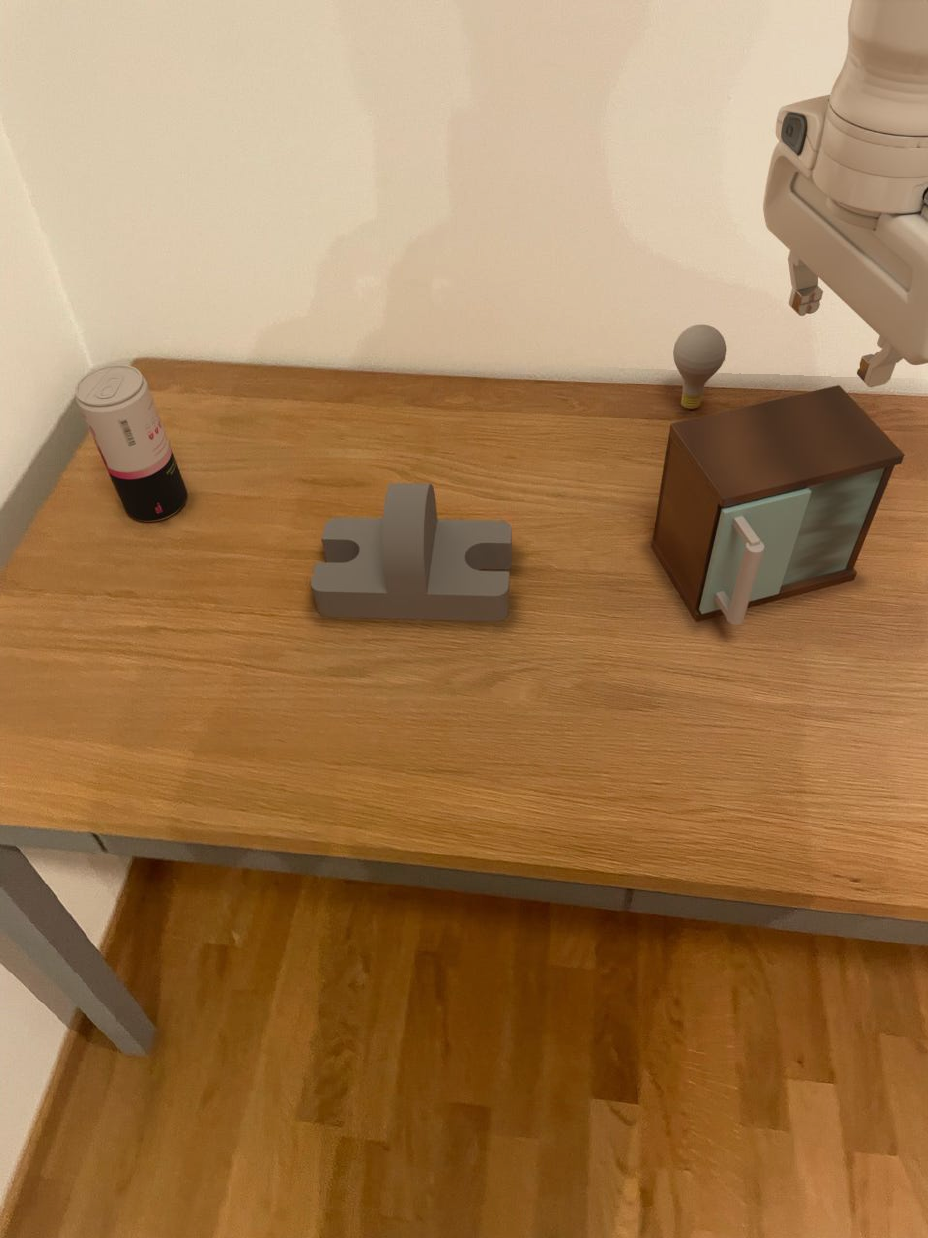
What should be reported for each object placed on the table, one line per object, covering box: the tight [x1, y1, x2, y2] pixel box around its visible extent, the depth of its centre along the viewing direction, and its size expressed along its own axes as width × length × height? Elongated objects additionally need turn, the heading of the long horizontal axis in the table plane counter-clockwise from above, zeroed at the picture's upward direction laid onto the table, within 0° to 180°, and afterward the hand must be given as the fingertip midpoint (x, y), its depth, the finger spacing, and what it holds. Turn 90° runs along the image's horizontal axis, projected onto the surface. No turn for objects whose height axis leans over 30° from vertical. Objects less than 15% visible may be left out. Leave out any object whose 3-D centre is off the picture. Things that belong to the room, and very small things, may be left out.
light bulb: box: [672, 324, 728, 410], centre depth 100 cm, size 6×6×10 cm
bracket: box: [310, 482, 513, 623], centre depth 84 cm, size 10×18×11 cm, turn 86°
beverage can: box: [74, 363, 188, 523], centre depth 92 cm, size 6×6×15 cm
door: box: [699, 487, 811, 626], centre depth 77 cm, size 8×4×12 cm, turn 106°
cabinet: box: [650, 384, 906, 622], centre depth 82 cm, size 16×10×15 cm, turn 106°
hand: (835, 343), depth 68 cm, fingers open, 8 cm apart
